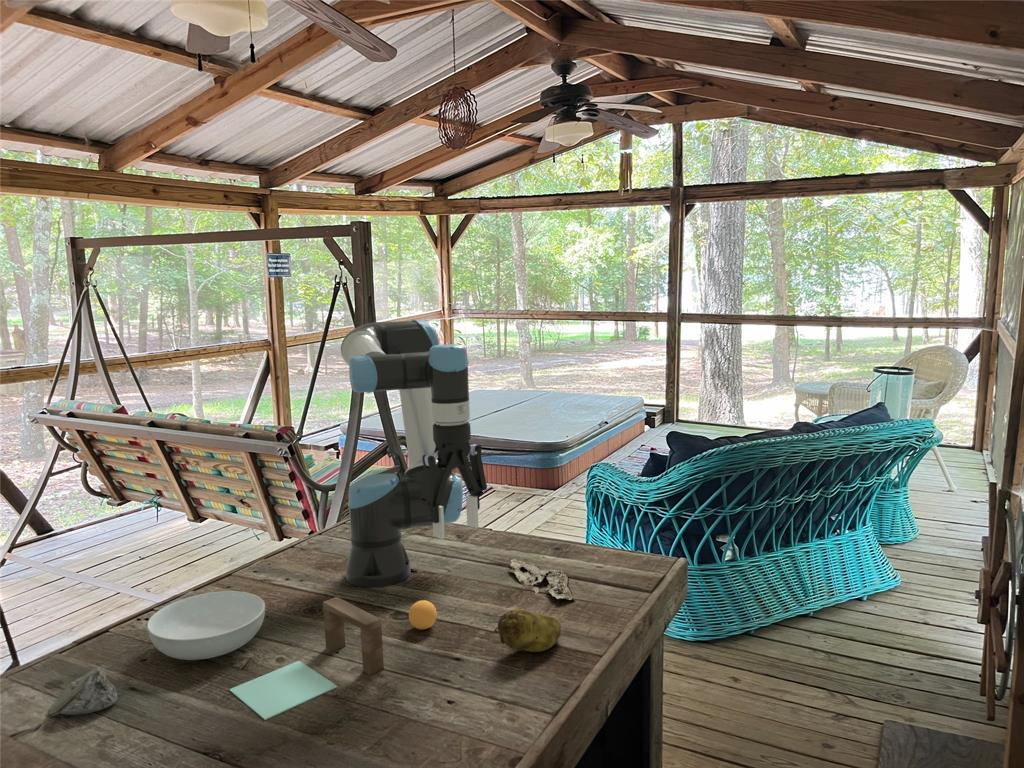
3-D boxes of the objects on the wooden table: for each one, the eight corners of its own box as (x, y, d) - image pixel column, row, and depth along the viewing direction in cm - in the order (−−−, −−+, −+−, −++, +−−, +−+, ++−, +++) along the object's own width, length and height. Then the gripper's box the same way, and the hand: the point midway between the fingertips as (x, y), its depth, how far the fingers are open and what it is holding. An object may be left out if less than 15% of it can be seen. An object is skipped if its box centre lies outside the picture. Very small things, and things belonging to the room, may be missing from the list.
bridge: (369, 675, 129) (366, 625, 128) (326, 648, 140) (322, 601, 138) (383, 668, 131) (380, 619, 130) (339, 642, 142) (336, 596, 141)
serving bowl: (152, 686, 128) (148, 649, 127) (149, 638, 147) (145, 605, 146) (276, 655, 138) (273, 620, 137) (258, 613, 156) (255, 582, 155)
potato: (572, 653, 135) (571, 611, 134) (505, 666, 131) (503, 623, 130) (556, 633, 143) (554, 593, 141) (491, 645, 139) (490, 604, 138)
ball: (403, 628, 147) (402, 602, 146) (425, 619, 150) (424, 593, 150) (420, 637, 143) (419, 610, 142) (443, 627, 147) (441, 600, 146)
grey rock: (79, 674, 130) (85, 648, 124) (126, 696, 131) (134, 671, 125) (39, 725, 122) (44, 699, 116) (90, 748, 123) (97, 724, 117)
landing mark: (229, 690, 126) (229, 689, 126) (299, 661, 135) (298, 660, 135) (265, 720, 117) (265, 719, 117) (337, 687, 126) (337, 686, 126)
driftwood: (595, 582, 160) (583, 566, 158) (565, 619, 155) (553, 603, 153) (527, 560, 181) (516, 546, 179) (499, 592, 176) (488, 578, 174)
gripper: (420, 432, 138) (426, 549, 141) (502, 416, 153) (506, 522, 156) (396, 428, 143) (403, 541, 146) (478, 412, 158) (482, 515, 161)
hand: (456, 531), depth 151 cm, fingers open, 8 cm apart
